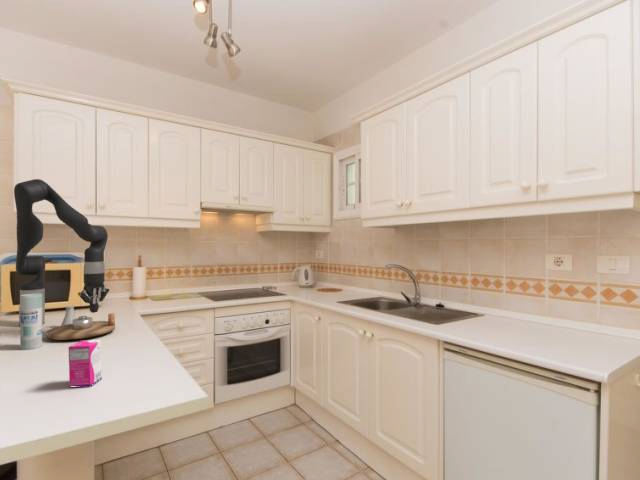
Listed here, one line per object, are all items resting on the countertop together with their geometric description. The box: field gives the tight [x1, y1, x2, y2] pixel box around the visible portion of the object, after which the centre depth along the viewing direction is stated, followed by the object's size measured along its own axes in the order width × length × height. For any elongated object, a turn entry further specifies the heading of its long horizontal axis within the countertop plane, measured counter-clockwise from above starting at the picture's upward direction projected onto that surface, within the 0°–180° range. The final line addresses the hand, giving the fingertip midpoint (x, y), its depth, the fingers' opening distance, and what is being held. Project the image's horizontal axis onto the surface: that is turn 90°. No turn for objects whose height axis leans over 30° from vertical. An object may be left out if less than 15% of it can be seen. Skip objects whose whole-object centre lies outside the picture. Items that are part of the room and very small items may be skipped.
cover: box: [73, 315, 93, 330], centre depth 147 cm, size 7×7×5 cm
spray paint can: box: [19, 293, 43, 351], centre depth 130 cm, size 6×6×20 cm
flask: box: [60, 305, 77, 326], centre depth 160 cm, size 7×7×10 cm
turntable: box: [46, 313, 116, 341], centre depth 147 cm, size 24×24×7 cm
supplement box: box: [68, 339, 103, 387], centre depth 96 cm, size 6×6×12 cm
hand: (94, 312), depth 147 cm, fingers closed
